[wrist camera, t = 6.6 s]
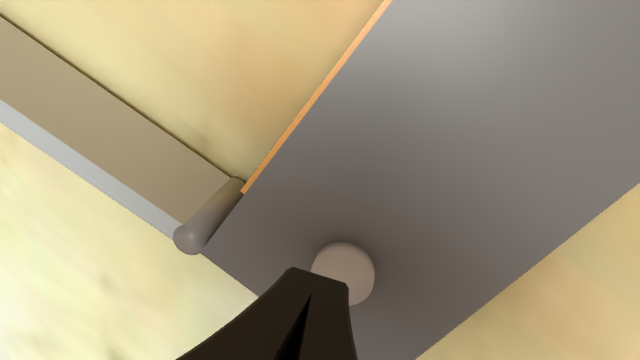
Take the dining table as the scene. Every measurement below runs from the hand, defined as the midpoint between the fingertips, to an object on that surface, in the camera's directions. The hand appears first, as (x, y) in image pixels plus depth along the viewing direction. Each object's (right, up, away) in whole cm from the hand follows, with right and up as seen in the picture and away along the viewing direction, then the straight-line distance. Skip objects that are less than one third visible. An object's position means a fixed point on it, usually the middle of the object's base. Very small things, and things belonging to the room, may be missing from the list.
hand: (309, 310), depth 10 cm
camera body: (+4, +5, +7) cm, 10 cm away
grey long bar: (-9, +6, +9) cm, 14 cm away
